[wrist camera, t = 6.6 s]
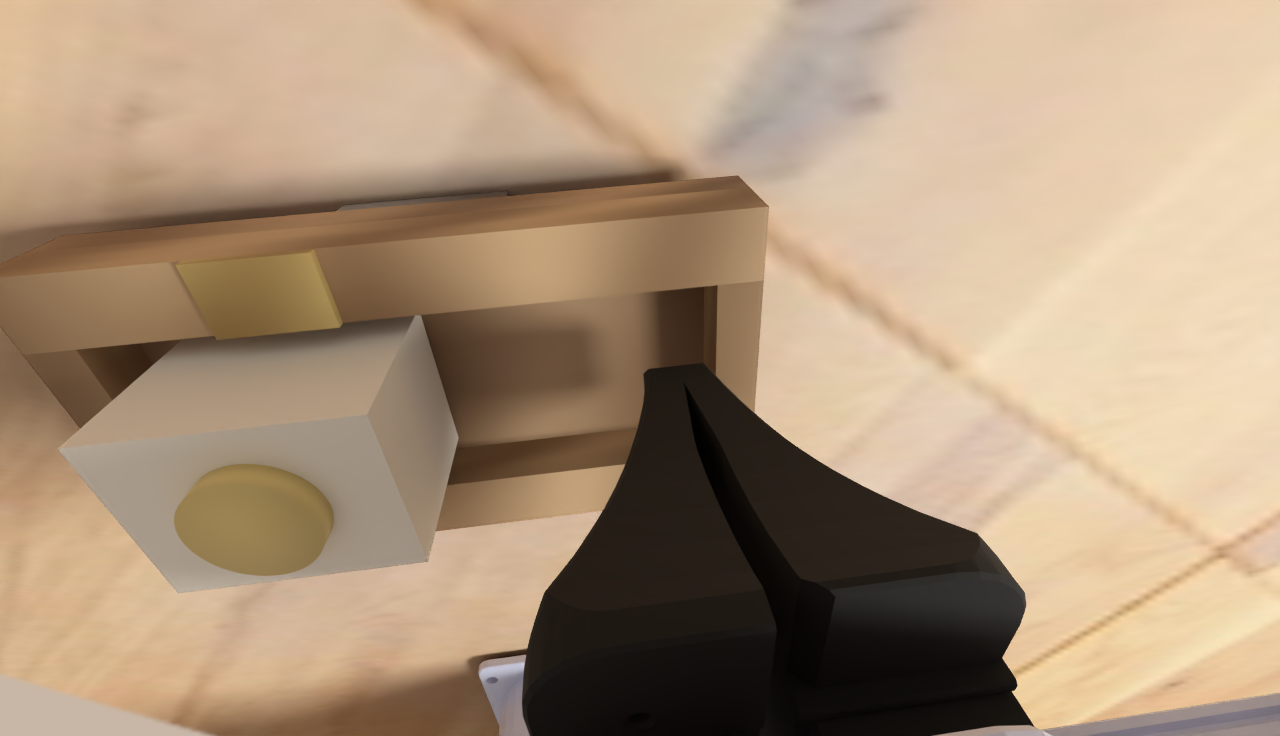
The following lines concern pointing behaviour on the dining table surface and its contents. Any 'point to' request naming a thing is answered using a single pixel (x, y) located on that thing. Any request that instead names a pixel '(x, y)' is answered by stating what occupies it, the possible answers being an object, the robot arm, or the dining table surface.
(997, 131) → the dining table surface
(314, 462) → the block
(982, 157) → the dining table surface
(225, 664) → the dining table surface
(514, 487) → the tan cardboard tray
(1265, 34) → the dining table surface
